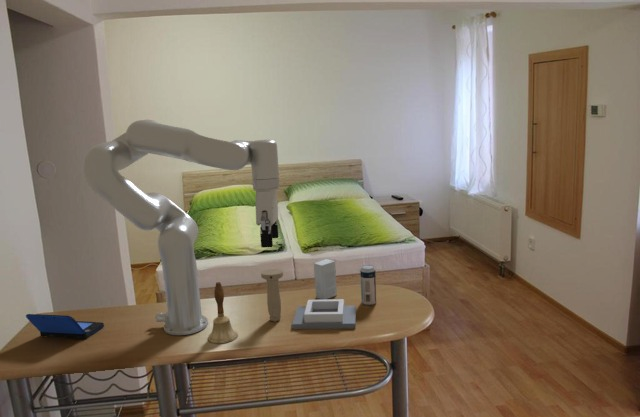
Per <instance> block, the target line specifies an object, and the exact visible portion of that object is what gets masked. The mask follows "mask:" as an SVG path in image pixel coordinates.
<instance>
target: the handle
mask: <svg viewBox="0 0 640 417" xmlns="http://www.w3.org/2000/svg"><path fill="white" fill-rule="evenodd" d="M283 276H284V270H282V269H278V268H277V269H266V270H262V271H260V277H261V278H262V279H263V280H265V281H266V292H267V294H266V295H267V296H266V299H267V301H266V303H267V309H268V310H267V311H268V315H269V321H271V322H274V323H276V322H279V321H280V320H281V319H282V318H281V314H282V302H281V301H282V300H281V294H280V285H279V280H280V279H281V278H282V277H283Z"/></svg>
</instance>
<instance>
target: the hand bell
mask: <svg viewBox="0 0 640 417" xmlns="http://www.w3.org/2000/svg"><path fill="white" fill-rule="evenodd" d="M214 286H215V287H214V292H213V293H214V299H215V302H216V306H217V317H215V318H214V319H213V322H212V323H213V324H212V329H211V333H210V334H209V335H208V337H207V340H208V341H209V342H210V343H212V344H227V343H230V342H233V341H235V340H236V339H238V337H239V333H238V332H237V331H236V330H235V329H234V328H233V326H232V324H231V320H230V317H229V316H225V313H224V312H225V311H224V299H225V291H224V288H223V286H222V283H221V281H217V282H216V283H215V285H214Z"/></svg>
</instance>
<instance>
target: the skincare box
mask: <svg viewBox="0 0 640 417" xmlns="http://www.w3.org/2000/svg"><path fill="white" fill-rule="evenodd" d="M313 273H314V274H313V275H314V286H315V290H314V291H315V298H316V299H318V300H325V299H331V298H333V297H336V296H337V295H338V289H337V276H336V274H337V273H336V261H335V260H331V259H328V258H325V259H322V260H319V261H316V262H314V263H313Z"/></svg>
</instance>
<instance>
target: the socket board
mask: <svg viewBox="0 0 640 417" xmlns="http://www.w3.org/2000/svg"><path fill="white" fill-rule="evenodd" d="M356 319H357V306H356V305H355V304H354V305H345V299H343V298H341V299H339V298H337V299H335V298H334V299H333V298H332V299H331V298H329V299H325V300H321V299H307V302H306V305H302V306H301V305H299V306H297V307H296V311H295V314H294V317H293V321H292V323H291V329H292V330H312V329H313V330H328V329H329V330H330V329H331V330H334V329H336V330H337V329H343V330H344V329H345V330H346V329H350V330H351V329H356V326H357V321H356Z"/></svg>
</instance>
